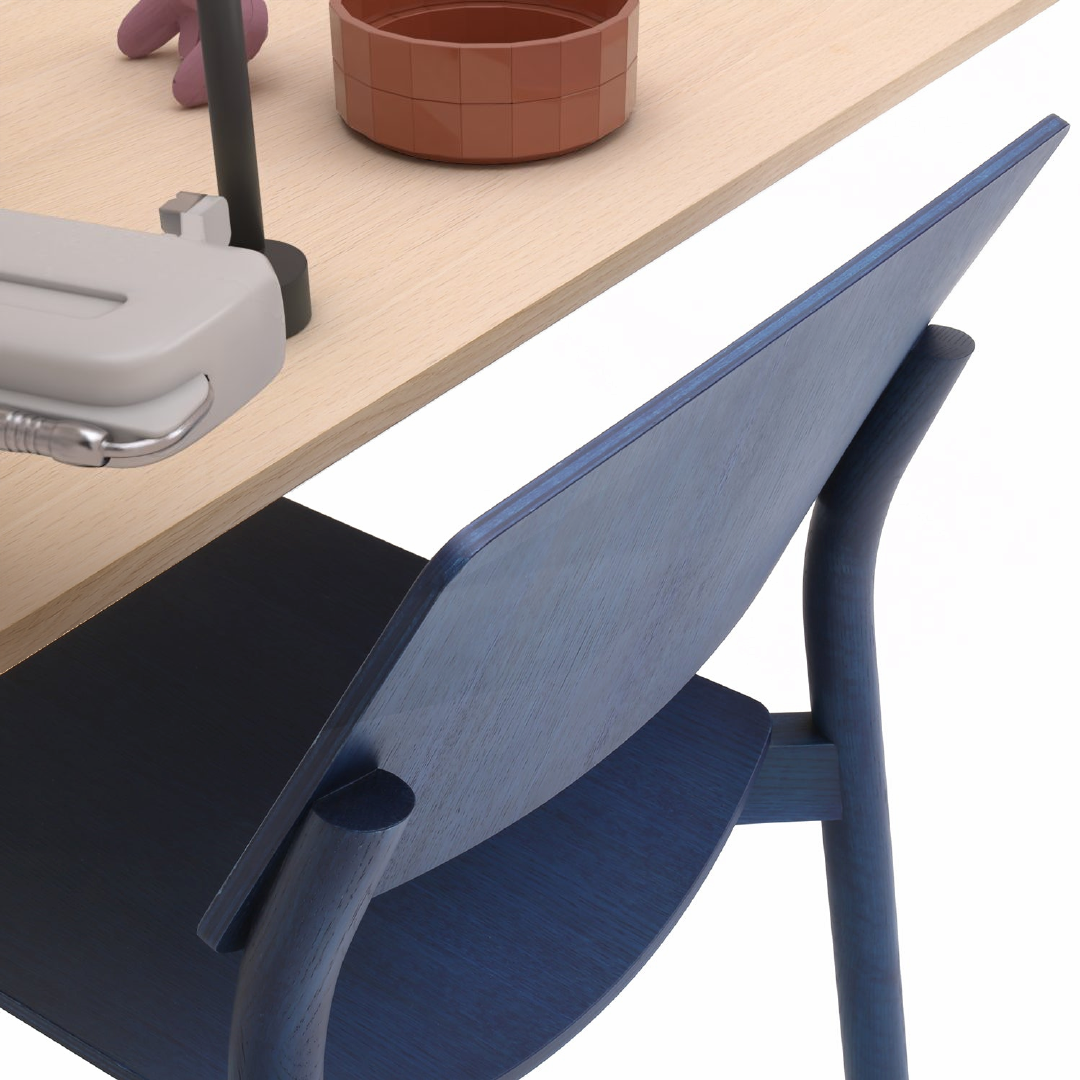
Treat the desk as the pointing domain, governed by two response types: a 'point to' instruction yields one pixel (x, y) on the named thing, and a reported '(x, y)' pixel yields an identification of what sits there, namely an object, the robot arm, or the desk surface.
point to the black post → (244, 153)
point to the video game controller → (184, 39)
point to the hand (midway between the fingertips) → (81, 194)
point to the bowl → (484, 75)
